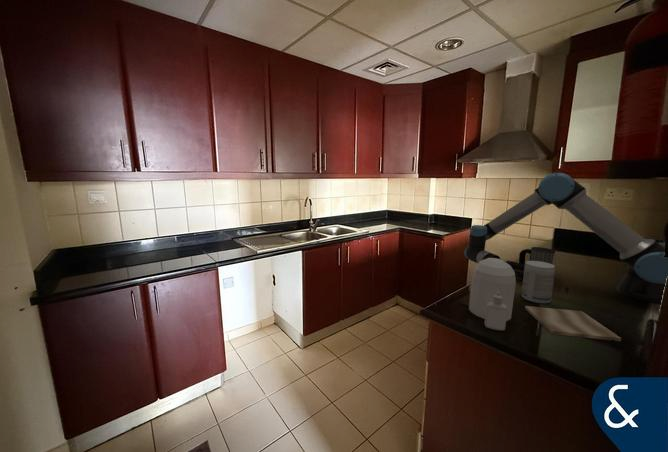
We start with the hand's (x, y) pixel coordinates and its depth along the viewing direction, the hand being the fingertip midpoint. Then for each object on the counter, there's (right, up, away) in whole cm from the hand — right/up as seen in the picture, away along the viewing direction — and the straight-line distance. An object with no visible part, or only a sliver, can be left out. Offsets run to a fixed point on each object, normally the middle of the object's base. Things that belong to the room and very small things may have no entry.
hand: (524, 275), depth 111 cm
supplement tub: (+1, -9, -4) cm, 10 cm away
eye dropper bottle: (-28, -12, -26) cm, 40 cm away
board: (-2, -12, -22) cm, 25 cm away
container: (-24, -11, -15) cm, 30 cm away
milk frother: (+16, -5, +17) cm, 24 cm away
